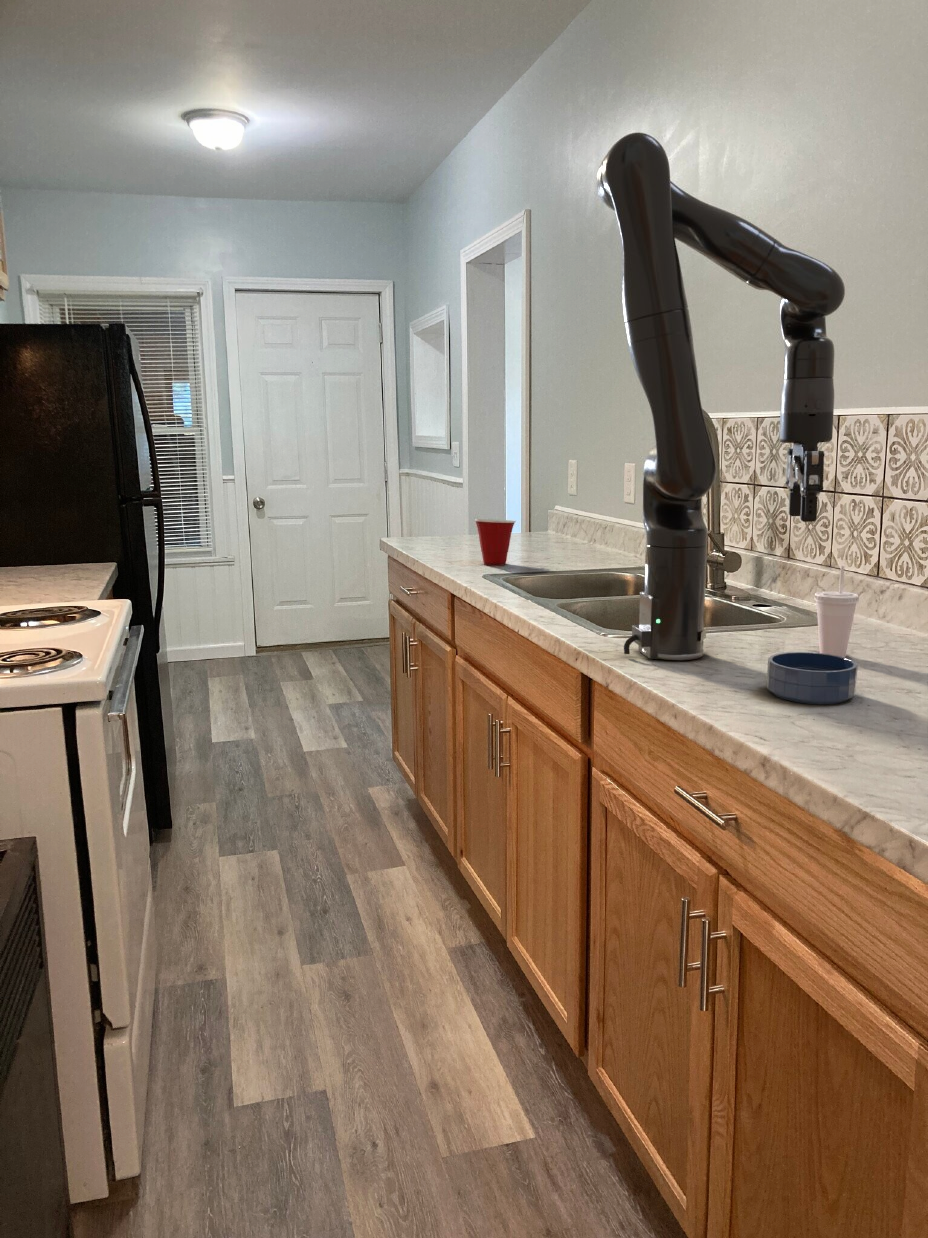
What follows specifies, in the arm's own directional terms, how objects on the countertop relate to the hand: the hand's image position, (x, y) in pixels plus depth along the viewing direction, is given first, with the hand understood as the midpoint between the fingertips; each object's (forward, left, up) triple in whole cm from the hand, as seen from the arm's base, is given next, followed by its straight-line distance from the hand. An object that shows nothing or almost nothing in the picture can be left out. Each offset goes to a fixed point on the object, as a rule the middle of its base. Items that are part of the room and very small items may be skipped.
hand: (802, 518), depth 147 cm
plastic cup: (-29, +108, -21) cm, 114 cm away
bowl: (-9, -23, -21) cm, 32 cm away
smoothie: (+5, -3, -21) cm, 22 cm away
